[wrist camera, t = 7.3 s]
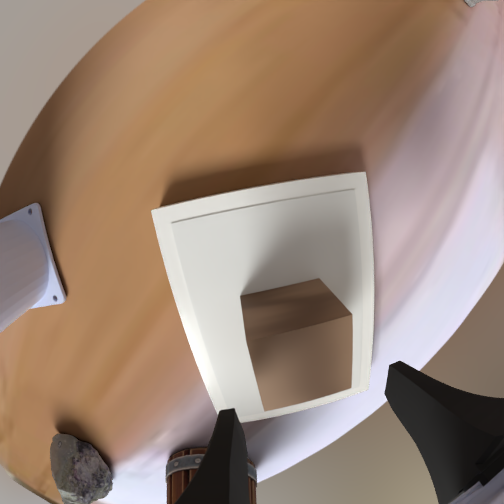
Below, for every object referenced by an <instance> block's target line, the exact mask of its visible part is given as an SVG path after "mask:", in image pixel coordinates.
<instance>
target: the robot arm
mask: <svg viewBox="0 0 504 504" xmlns="http://www.w3.org/2000/svg"><path fill="white" fill-rule="evenodd" d="M31 209H32V214H31ZM55 296H56V297H57V299H56V297H55ZM65 300H66V295H65V292H64V289H63V286H62V283H61V281H60V278H59V275H58V272H57V269H56V265H55V262H54V259H53V255H52V252H51V248H50V245H49V241H48V237H47V233H46V229H45V225H44V221H43V216H42V211H41V207H40V205H39V203H33V204H31V205H29V206H27V207H24V208H22V209H20V210H18V211H16V212H14V213H12V214H10V215H8V216H6V217H4V218H3V219H1V220H0V333H1V332H2V331H3V330H4V329H6V328H7V327H8V326H9V325H10V324H11V323H13V322H14V321H15V320H16V319H17V318H19V317H20V316H21V315H22V314H23V313H25V312H26V311H27V310H28V309H31V308H37V307H43V306H49V305H55V304H61V303H63V302H65ZM385 396H386V398H387V400H388V402H389V404H390V406H391V408H392V410H393V411H394V413H395V414H396V416H397V417H398V418H399V420H400V421H401V423H402V424H403V426H404V427H405V429H406V430H407V431H408V433H409V434H410V436H411V437H412V439H413V440H414V442H415V443H416V445H417V447H418V449H419V451H420V453H421V455H422V457H423V459H424V461H425V464H426V466H427V468H428V471H429V473H430V476H431V479H432V481H433V484H434V487H435V491H436V494H437V498H438V502H439V504H504V398H493V397H487V396H481V395H476V394H472V393H469V392H465V391H462V390H459V389H456V388H454V387H451V386H449V385H446V384H444V383H441V382H439V381H437V380H435V379H433V378H431V377H429V376H427V375H425V374H424V373H422V372H420V371H418V370H416V369H414V368H413V367H411V366H409V365H407V364H405V363H403V362H402V361H398V362H396V363H393V364H391V365H389V370H388V377H387V383H386V389H385ZM174 504H250V500H249V488H248V462H247V449H246V442H245V436H244V432H243V429H242V427H241V424H240V421H239V419H238V416H237V413H236V411H235V408H231V409H224V410H220V411H219V413H218V418H217V422H216V425H215V428H214V431H213V434H212V437H211V440H210V442H209V445H208V448H207V450H206V452H205V455H204V457H203V459H202V461H201V463H200V465H199V467H198V469H197V471H196V472H195V474H194V476H193V478H192V479H191V481H190V482H189V484H188V485H187V487H186V488H185V490H184V491H183V493H182V494H181V495H180V497H179V498H178V499H177V500H176V501H175V503H174Z"/></svg>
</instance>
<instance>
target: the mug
mask: <svg viewBox="0 0 504 504" xmlns="http://www.w3.org/2000/svg"><path fill="white" fill-rule="evenodd" d="M207 448H208V447H199V448H190V449H186V450H183V451H180V452H178V453H176V454H174V455H173V456H171V457H170V458H169V460H168V463H167V465H166V483H167V504H174V503H175V501H176V500H177V499H178V498H179V497H180V495H181V494H182V493H183V491H184V490H185V488H186V487H187V485H188V484H189V482H190V481H191V479H192V478H193V476H194V474H195V472H196V471H197V469H198V467H199V465H200V463H201V461H202V459H203V457H204V455H205V452H206V450H207ZM247 462H248V488H249V500H250V504H256V487H257V474H256V469H255V465H254V464H253V462H252V461H250V459H248V458H247Z"/></svg>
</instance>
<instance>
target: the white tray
mask: <svg viewBox="0 0 504 504" xmlns="http://www.w3.org/2000/svg"><path fill="white" fill-rule="evenodd" d="M151 212H152V216H153V221H154V225H155V229H156V233H157V237H158V241H159V245H160V249H161V253H162V257H163V260H164V264H165V268H166V271H167V275H168V278H169V282H170V285H171V288H172V292H173V295H174V298H175V302H176V305H177V308H178V311H179V314H180V317H181V320H182V323H183V326H184V329H185V332H186V335H187V338H188V341H189V344H190V346H191V349H192V352H193V355H194V357H195V360H196V363H197V365H198V368H199V371H200V373H201V376H202V378H203V381H204V383H205V386H206V388H207V391H208V393H209V396H210V398H211V400H212V403H213V405H214V408H215V410H216V412H217V414H218V413H219V411H220V410H224V409H231V408H235V411H236V413H237V416H238V419H239V421H240V423H244V422H250V421H256V420H262V419H267V418H272V417H277V416H281V415H286V414H290V413H294V412H298V411H302V410H306V409H310V408H313V407H317V406H321V405H324V404H327V403H331V402H334V401H337V400H340V399H343V398H346V397H349V396H352V395H355V394H358V393H361V392H363V391H366V390H368V389H369V380H370V370H371V359H372V346H373V327H374V257H373V238H372V224H371V213H370V203H369V194H368V186H367V178H366V172H348V173H340V174H332V175H325V176H317V177H310V178H303V179H297V180H290V181H284V182H278V183H272V184H266V185H261V186H255V187H250V188H244V189H239V190H234V191H229V192H224V193H219V194H214V195H209V196H205V197H200V198H196V199H191V200H187V201H182V202H178V203H174V204H169V205H165V206H161V207H158V208H156V209H153V210H151ZM317 278H320V279H321V281H322V282H323V283H324V284H325V285H326V286H327V287H328V288H329V289H330V290H331V291H332V292H333V294H334V295H335V296H336V297H337V298H338V299H339V300H340V301H341V302H342V303H343V304H344V306H345V307H346V308H347V309H348V310H349V311H350V312H351V313H352V314H353V361H352V387H351V388H350V389H347V390H344V391H341V392H338V393H335V394H332V395H329V396H325V397H322V398H318V399H315V400H311V401H308V402H304V403H300V404H296V405H292V406H288V407H283V408H279V409H274V410H270V411H265V412H264V409H263V405H262V401H261V397H260V394H259V390H258V386H257V382H256V378H255V374H254V370H253V367H252V363H251V359H250V355H249V351H248V347H247V343H246V337H245V330H244V323H243V315H242V308H241V300H240V296H241V295H246V294H250V293H255V292H260V291H265V290H269V289H274V288H278V287H283V286H287V285H292V284H296V283H300V282H305V281H309V280H313V279H317Z"/></svg>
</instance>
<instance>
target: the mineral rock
mask: <svg viewBox="0 0 504 504" xmlns="http://www.w3.org/2000/svg"><path fill="white" fill-rule="evenodd" d="M52 439H53V442H52V444H51V448H50V459H51V470H52V476H53V478H54V480H55V483H56V486H57V488H58V491H59V492H60V494H61V497H62V501H63V503H64V504H91V503H92V502H93V501H97V500H98V499H102V498H104V497H106V496H107V495H108V493H109V491H111V490H112V484H113V483H112V480H113V479H112V477H111V476H110V475H111V472H110V471H109V468H108V467H107V465H106V464H105V463H104V461H103V460H102V459H101V457H100V455H99V454H98V452H97V451H96V450H95V449H94V448H93V447H92V445H90V444H88V443H86V442H82V441H79V440H78V439H76V438H75V437H74V436H72V435H67V434H56V435H55V436H54V437H53V438H52Z"/></svg>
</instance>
